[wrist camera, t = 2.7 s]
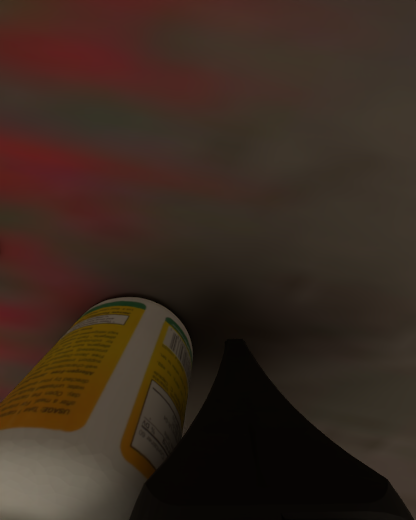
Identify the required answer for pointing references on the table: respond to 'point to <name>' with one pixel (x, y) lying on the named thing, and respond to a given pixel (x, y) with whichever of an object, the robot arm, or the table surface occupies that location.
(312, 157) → the table surface
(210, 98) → the table surface
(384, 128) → the table surface
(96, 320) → the supplement bottle
